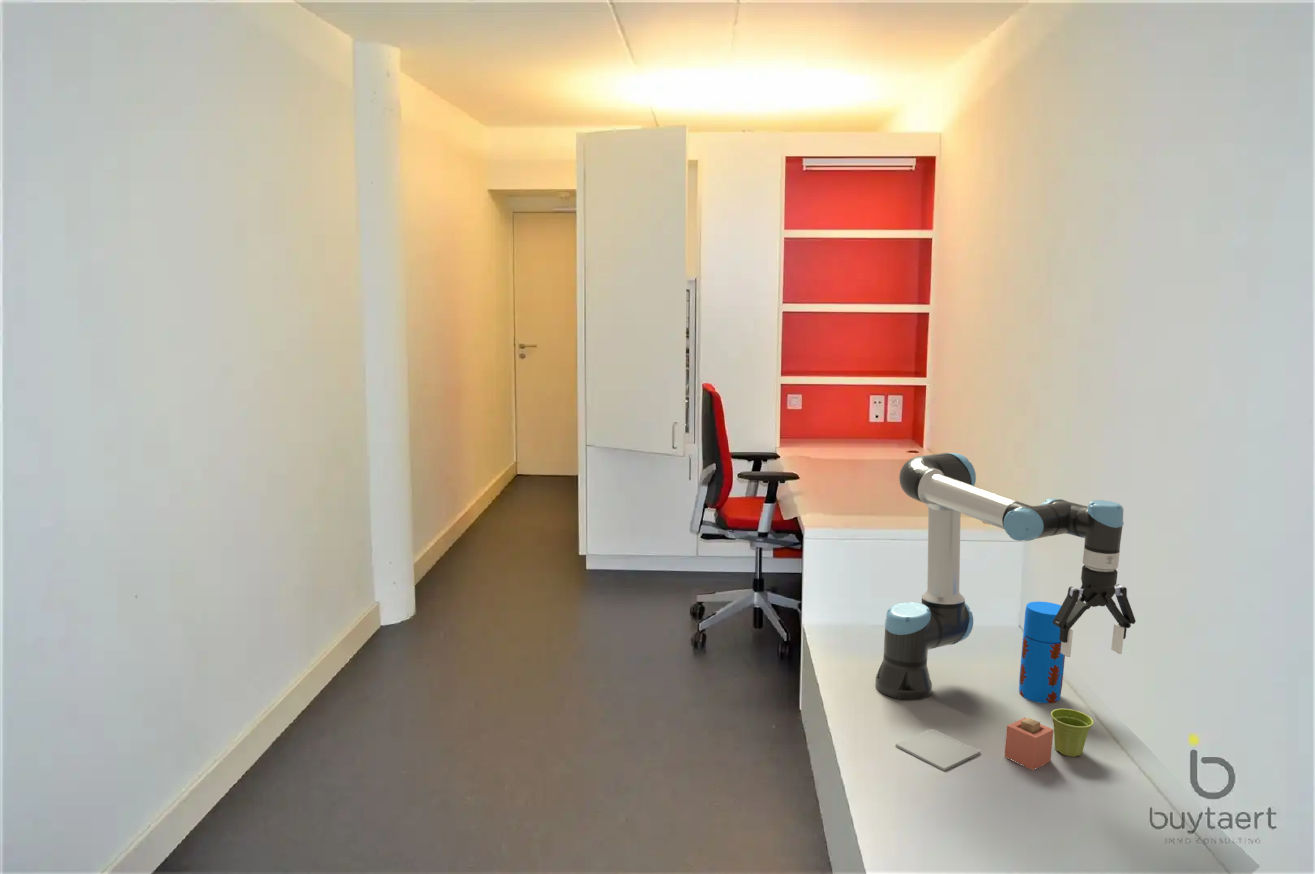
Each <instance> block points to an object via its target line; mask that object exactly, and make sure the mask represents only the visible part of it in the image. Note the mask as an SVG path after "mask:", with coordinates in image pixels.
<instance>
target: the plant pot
mask: <svg viewBox="0 0 1315 874" xmlns="http://www.w3.org/2000/svg"><path fill="white" fill-rule="evenodd" d="M1050 717H1051V718H1052V719H1051V720H1052V723H1053V729H1054V730H1053V738H1054V739H1053V741H1054V749H1055V751H1057V752H1058V753H1060V754H1062V755H1063V756H1068V757H1073V758H1074V757H1075V758H1076V757H1077V756H1081V755H1083V752H1084V748H1085V744H1086V741H1087V737H1088V733H1089V731H1090V729H1091V727H1092V726H1093V725H1094V720H1093V718H1092V717H1091V716H1090V715H1088V714H1086V713H1084V712H1081V711H1078V710H1076V709H1071V708H1070V709H1069V708H1056V709H1053V710H1052V711H1051V712H1050Z"/></svg>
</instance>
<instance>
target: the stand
mask: <svg viewBox="0 0 1315 874" xmlns="http://www.w3.org/2000/svg"><path fill="white" fill-rule="evenodd" d="M1025 718H1026V719H1024V720H1022V721H1021V729H1023V730H1025V731H1028V732H1030V733H1032V734H1035V733H1037V732H1039V730H1040V724H1041V721H1037V720H1036V719H1033V718H1031V717H1025Z"/></svg>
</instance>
